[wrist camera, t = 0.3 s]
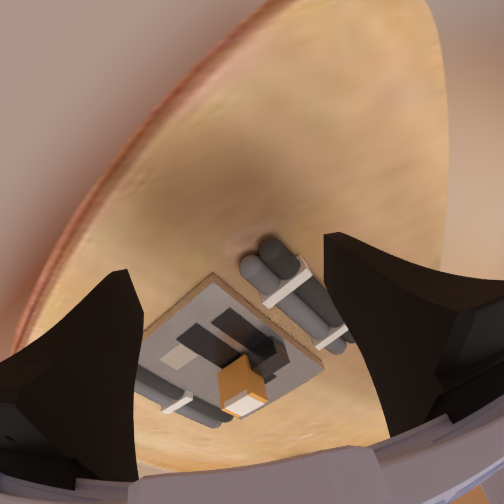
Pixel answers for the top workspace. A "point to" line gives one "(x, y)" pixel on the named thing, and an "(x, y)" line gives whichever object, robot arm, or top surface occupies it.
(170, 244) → the top surface
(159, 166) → the top surface
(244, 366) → the lever
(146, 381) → the cord bundle
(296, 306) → the cord bundle
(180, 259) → the top surface
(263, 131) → the top surface
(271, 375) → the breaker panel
